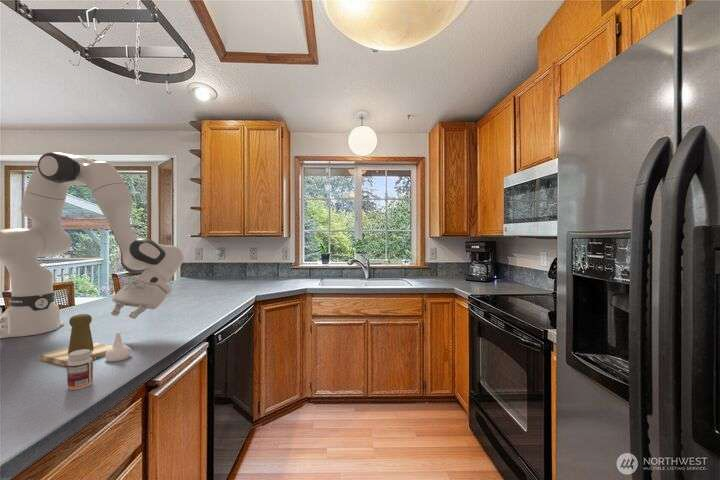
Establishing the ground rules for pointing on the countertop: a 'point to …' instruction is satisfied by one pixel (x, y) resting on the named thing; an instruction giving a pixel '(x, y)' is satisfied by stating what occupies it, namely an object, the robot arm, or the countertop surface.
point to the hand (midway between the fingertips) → (122, 316)
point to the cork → (80, 333)
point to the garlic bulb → (118, 350)
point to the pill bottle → (79, 369)
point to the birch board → (63, 356)
